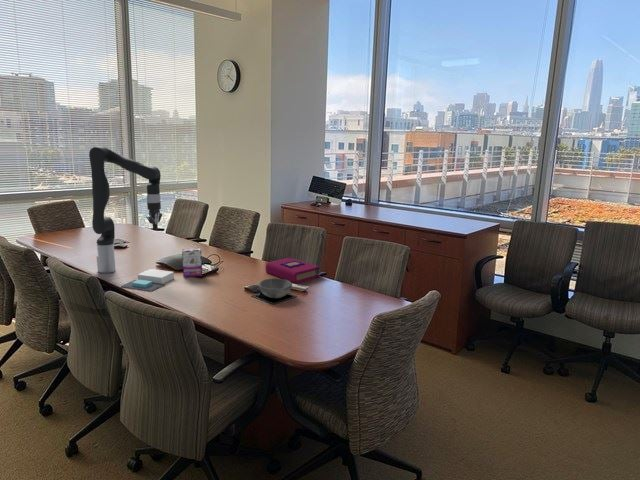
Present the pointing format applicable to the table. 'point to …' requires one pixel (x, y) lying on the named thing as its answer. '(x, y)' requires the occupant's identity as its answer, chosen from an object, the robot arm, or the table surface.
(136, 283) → the teal flat block
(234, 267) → the table surface
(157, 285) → the mat
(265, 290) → the bowl
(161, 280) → the block
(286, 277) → the book
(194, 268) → the candy bar box
